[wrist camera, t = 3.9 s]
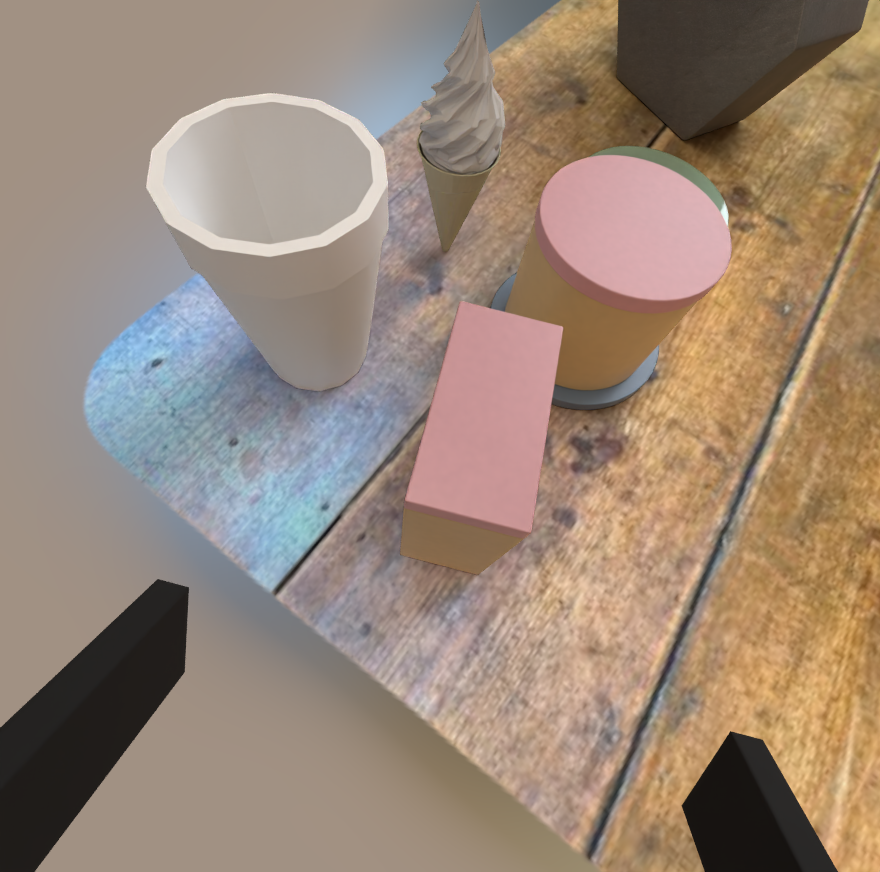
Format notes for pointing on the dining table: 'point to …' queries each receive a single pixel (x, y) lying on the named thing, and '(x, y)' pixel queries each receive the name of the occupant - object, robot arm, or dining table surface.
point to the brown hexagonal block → (724, 53)
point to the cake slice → (482, 441)
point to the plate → (674, 165)
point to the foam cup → (281, 225)
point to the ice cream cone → (461, 131)
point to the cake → (615, 271)
